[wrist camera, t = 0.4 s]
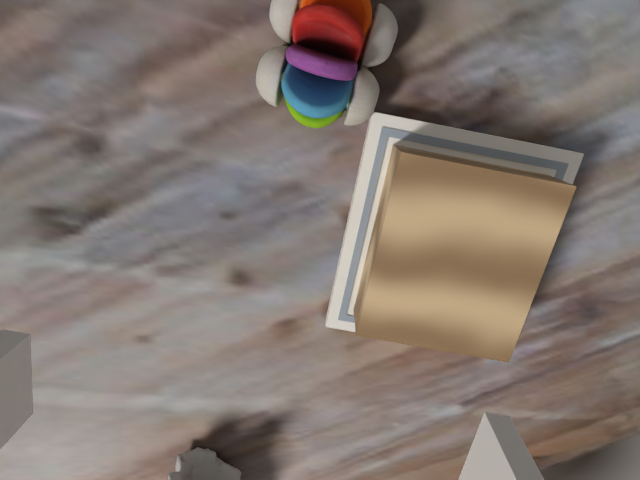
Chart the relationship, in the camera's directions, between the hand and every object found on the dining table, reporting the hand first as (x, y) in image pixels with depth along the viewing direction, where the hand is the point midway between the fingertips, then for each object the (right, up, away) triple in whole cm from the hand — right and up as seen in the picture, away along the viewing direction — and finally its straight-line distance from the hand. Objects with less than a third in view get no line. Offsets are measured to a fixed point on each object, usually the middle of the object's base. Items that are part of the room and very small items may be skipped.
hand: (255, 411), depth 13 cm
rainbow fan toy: (+2, +18, +19) cm, 27 cm away
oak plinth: (+12, +4, +22) cm, 26 cm away
